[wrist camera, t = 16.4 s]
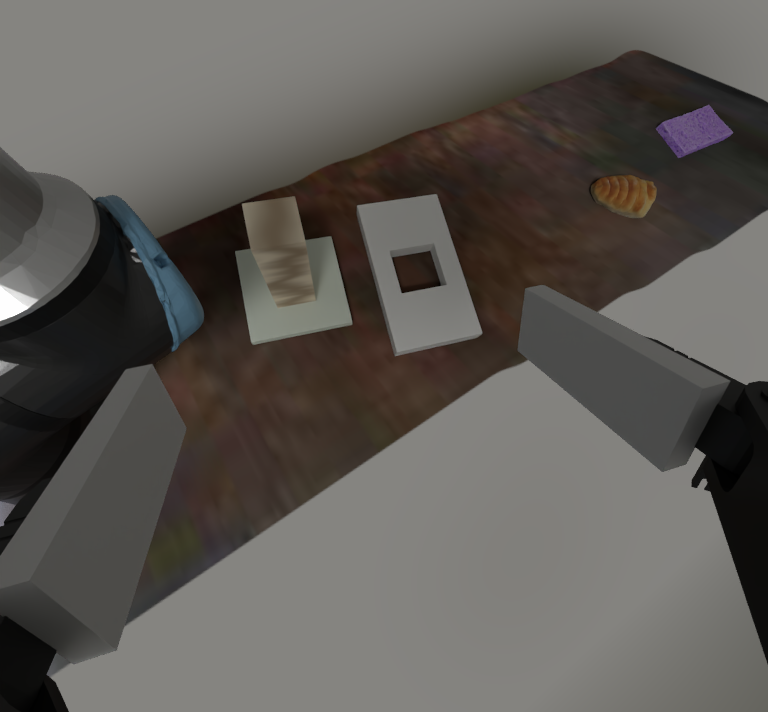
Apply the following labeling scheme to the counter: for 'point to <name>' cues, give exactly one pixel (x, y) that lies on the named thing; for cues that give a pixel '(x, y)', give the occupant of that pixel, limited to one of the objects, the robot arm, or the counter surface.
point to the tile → (301, 317)
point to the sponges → (693, 131)
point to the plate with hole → (427, 306)
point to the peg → (280, 249)
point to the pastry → (624, 195)
